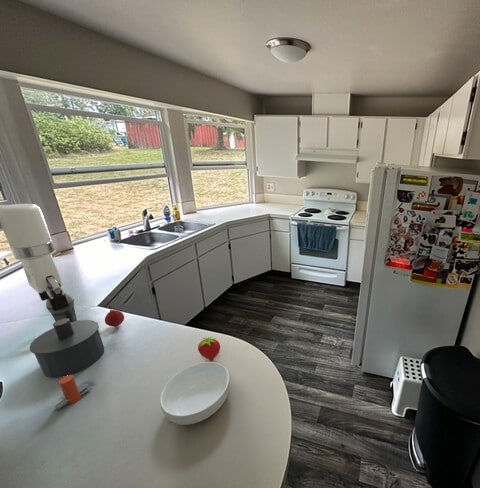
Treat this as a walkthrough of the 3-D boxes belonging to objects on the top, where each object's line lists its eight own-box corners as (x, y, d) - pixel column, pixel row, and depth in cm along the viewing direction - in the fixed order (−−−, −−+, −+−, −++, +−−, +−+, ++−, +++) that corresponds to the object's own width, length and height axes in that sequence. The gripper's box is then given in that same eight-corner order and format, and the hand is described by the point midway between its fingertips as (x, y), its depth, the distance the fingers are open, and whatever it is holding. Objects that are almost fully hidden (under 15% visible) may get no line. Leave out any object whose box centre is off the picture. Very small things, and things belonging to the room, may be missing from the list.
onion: (124, 319, 103) (120, 303, 100) (127, 326, 99) (122, 309, 96) (106, 326, 99) (101, 308, 96) (108, 333, 95) (102, 315, 92)
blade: (58, 413, 66) (48, 393, 63) (53, 407, 68) (43, 387, 65) (94, 391, 72) (86, 372, 70) (88, 386, 74) (81, 367, 71)
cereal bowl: (199, 446, 60) (194, 426, 57) (149, 421, 65) (143, 401, 63) (243, 388, 75) (242, 370, 72) (200, 371, 80) (197, 354, 78)
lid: (41, 364, 70) (33, 346, 68) (23, 343, 77) (15, 327, 75) (108, 332, 83) (103, 317, 81) (87, 317, 90) (82, 302, 88)
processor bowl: (53, 385, 74) (42, 360, 70) (36, 365, 80) (25, 341, 77) (112, 354, 86) (105, 331, 82) (93, 338, 92) (85, 316, 89)
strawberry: (213, 369, 81) (210, 345, 78) (195, 363, 83) (191, 338, 80) (226, 356, 86) (223, 333, 83) (208, 350, 89) (205, 327, 85)
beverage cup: (80, 320, 101) (64, 276, 95) (85, 328, 97) (69, 282, 91) (54, 330, 96) (36, 284, 89) (59, 338, 92) (40, 290, 85)
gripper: (4, 247, 69) (27, 300, 75) (23, 261, 61) (47, 319, 67) (43, 240, 75) (61, 289, 81) (65, 252, 67) (83, 306, 73)
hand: (55, 303), depth 74 cm, fingers open, 9 cm apart
